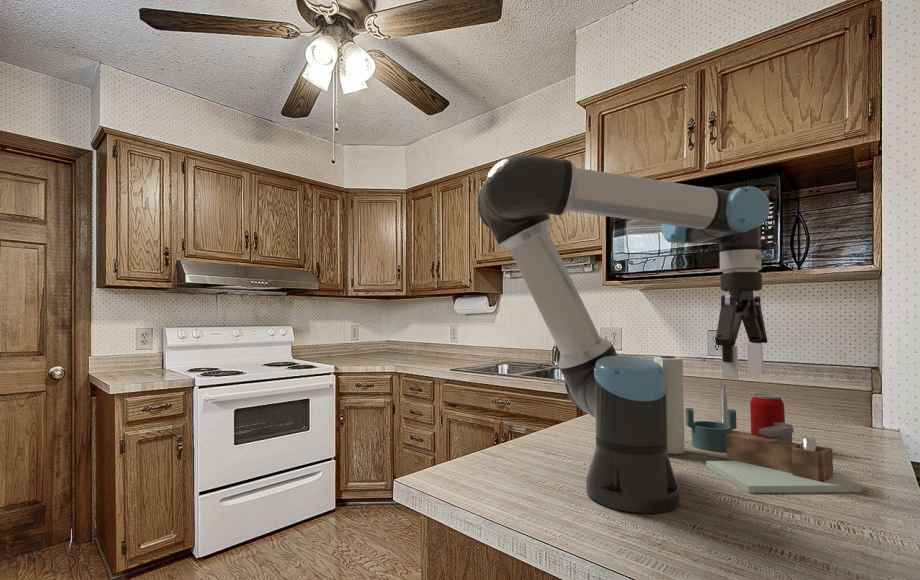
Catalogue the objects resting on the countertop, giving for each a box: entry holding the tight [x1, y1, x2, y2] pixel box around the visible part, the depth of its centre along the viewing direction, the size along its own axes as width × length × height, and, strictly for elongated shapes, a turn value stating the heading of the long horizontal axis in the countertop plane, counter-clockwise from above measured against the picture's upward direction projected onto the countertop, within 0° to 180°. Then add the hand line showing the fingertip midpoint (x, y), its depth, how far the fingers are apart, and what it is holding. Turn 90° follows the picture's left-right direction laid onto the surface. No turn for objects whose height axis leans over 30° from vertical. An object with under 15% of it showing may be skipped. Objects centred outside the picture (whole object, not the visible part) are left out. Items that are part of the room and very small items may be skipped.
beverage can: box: [749, 393, 786, 439], centre depth 112 cm, size 7×7×12 cm
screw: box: [715, 381, 729, 424], centre depth 127 cm, size 13×5×5 cm
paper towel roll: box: [653, 355, 686, 455], centre depth 109 cm, size 7×6×21 cm
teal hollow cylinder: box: [685, 407, 738, 453], centre depth 113 cm, size 9×9×9 cm
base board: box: [705, 460, 862, 494], centre depth 91 cm, size 20×14×1 cm
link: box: [726, 431, 834, 482], centre depth 94 cm, size 17×6×5 cm, turn 39°
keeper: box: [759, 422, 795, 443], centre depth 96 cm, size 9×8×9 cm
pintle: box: [801, 436, 817, 452], centre depth 90 cm, size 2×2×7 cm
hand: (743, 376), depth 99 cm, fingers open, 12 cm apart
